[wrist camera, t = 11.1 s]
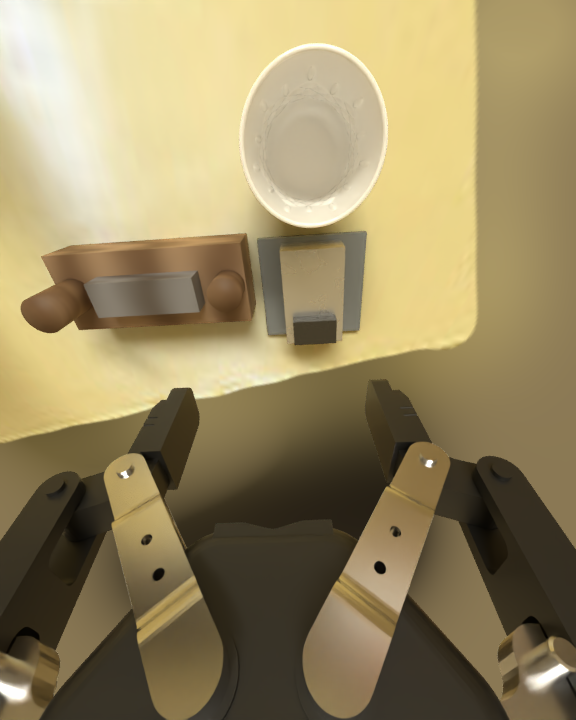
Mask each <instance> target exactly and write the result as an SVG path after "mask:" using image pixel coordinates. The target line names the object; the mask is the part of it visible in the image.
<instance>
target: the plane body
mask: <svg viewBox="0 0 576 720" xmlns="http://www.w3.org/2000/svg"><path fill="white" fill-rule="evenodd" d="M41 257H42V259H43V261H44V263H45V265H46V267H47V269H48V271H49V273H50V275H51V277H52V279H53V281H54V283H55V285H53V286H51V287H50V288H48V289H46V290H44V291H42V292H40V293H38V294H36V295H34V296H32V297H30V298H28V299H26V300H24V301H23V302H22V304H21V312H22V315H23V317H24V318H25V320H26V321H27V322H28V323H29V324H30V325H31V326H33V327H34V328H36V329H37V330H40V331H42V332H46V333H55V332H58V331H59V330H61V329H62V328H64V327H65V326H66V325H68V324H69V323H71V322H72V321H73V320H74V321H75V323H76V325H77V327H78V329H79V330H88V329H106V328H124V327H142V326H160V325H178V324H197V323H215V322H233V321H251V320H252V317H253V313H254V309H255V306H256V301H255V293H254V286H253V278H252V271H251V264H250V256H249V249H248V242H247V234H246V233H245V234H231V235H217V236H202V237H188V238H174V239H159V240H145V241H130V242H116V243H102V244H87V245H73V246H68V247H66V248H63V249H60V250H57V251H55V252H52V253H49V254H46V255H44V256H41Z"/></svg>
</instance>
